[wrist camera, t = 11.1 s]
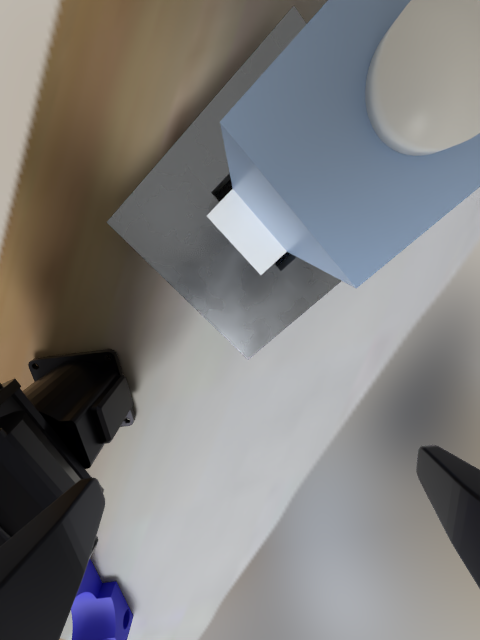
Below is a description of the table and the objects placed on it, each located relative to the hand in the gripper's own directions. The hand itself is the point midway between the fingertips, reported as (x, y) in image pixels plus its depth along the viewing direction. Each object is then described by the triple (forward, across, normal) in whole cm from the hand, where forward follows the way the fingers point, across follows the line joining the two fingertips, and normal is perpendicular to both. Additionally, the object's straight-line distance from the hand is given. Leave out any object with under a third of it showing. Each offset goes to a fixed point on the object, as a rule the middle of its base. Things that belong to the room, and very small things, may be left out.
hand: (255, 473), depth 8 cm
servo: (+13, -4, -8) cm, 16 cm away
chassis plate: (+13, -2, -7) cm, 15 cm away
